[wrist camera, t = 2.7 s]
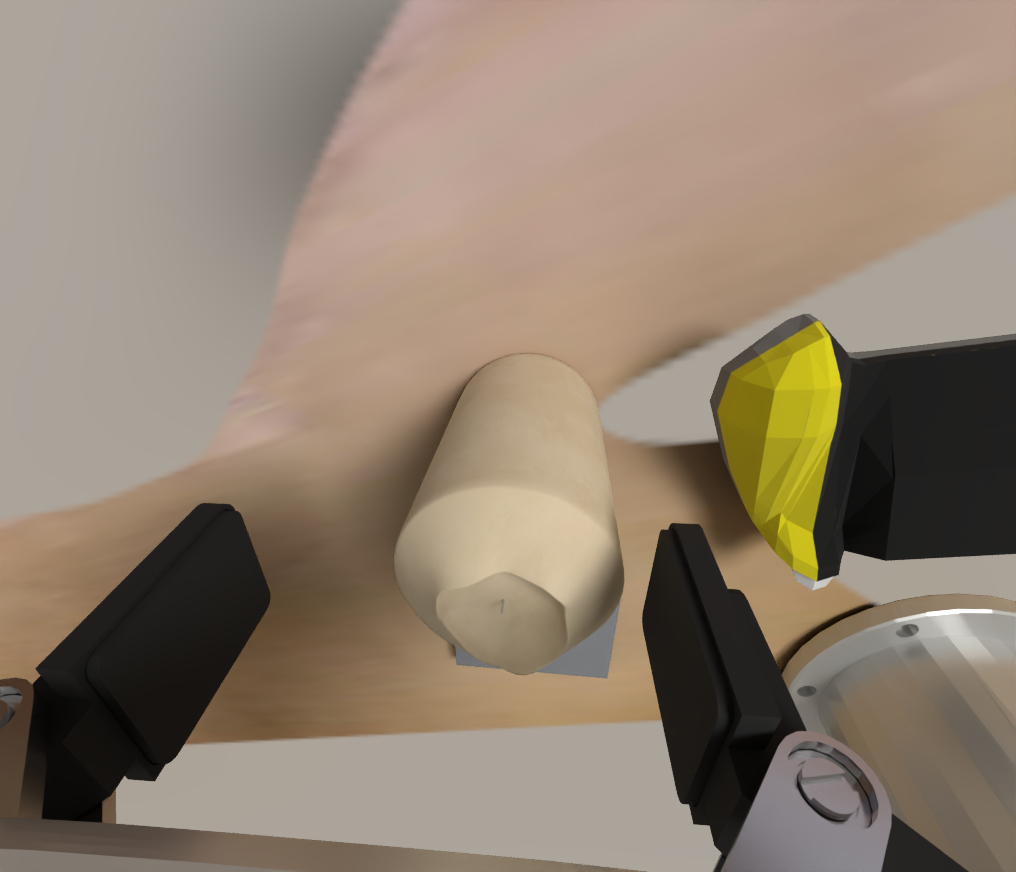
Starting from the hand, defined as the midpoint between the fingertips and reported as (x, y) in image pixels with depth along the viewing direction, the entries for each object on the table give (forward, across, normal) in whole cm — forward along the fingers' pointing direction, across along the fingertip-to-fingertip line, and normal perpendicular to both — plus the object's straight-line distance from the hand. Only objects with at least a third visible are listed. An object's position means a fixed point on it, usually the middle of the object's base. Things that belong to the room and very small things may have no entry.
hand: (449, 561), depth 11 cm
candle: (+9, -2, +1) cm, 9 cm away
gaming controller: (+9, -15, 0) cm, 18 cm away
